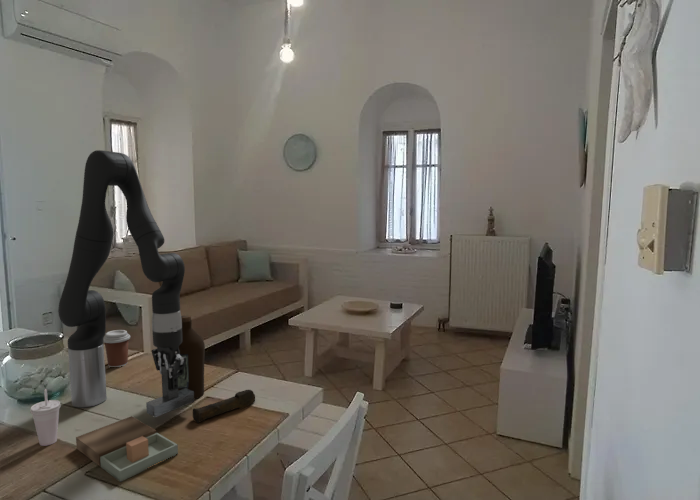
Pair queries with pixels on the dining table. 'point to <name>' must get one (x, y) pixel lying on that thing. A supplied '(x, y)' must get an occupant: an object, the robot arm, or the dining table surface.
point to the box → (125, 469)
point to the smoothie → (46, 420)
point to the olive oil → (192, 359)
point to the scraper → (169, 397)
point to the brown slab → (111, 438)
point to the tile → (137, 449)
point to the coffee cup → (116, 347)
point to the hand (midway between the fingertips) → (170, 387)
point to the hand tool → (224, 405)
